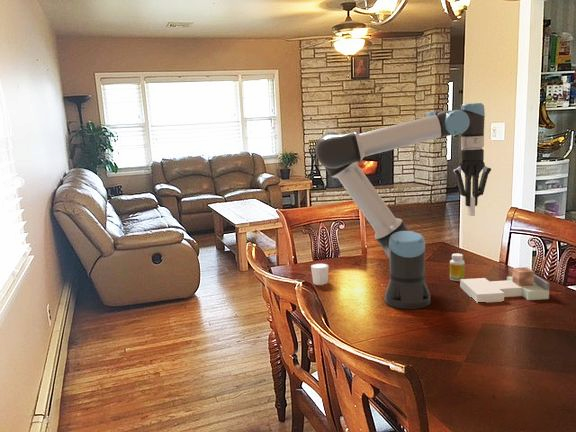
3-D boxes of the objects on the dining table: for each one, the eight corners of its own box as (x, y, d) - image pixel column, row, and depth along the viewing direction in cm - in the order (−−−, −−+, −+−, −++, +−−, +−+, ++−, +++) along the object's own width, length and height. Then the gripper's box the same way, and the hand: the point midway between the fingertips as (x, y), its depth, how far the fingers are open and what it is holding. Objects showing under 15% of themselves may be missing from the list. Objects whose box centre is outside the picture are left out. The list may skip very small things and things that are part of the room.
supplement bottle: (461, 282, 187) (462, 257, 185) (447, 280, 190) (447, 255, 189) (466, 278, 191) (466, 253, 190) (452, 276, 195) (452, 252, 193)
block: (518, 286, 171) (519, 272, 170) (512, 281, 176) (512, 267, 175) (533, 285, 171) (534, 271, 170) (526, 280, 176) (527, 267, 175)
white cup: (329, 279, 199) (328, 262, 197) (329, 285, 192) (328, 267, 191) (312, 280, 199) (311, 263, 198) (311, 285, 193) (310, 268, 191)
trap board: (477, 303, 166) (477, 287, 165) (460, 287, 182) (460, 272, 181) (548, 298, 166) (549, 283, 165) (525, 283, 182) (526, 268, 181)
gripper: (457, 150, 170) (456, 218, 174) (495, 148, 170) (493, 216, 174) (450, 149, 177) (449, 214, 182) (486, 147, 177) (485, 212, 182)
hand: (471, 215), depth 178 cm, fingers closed
